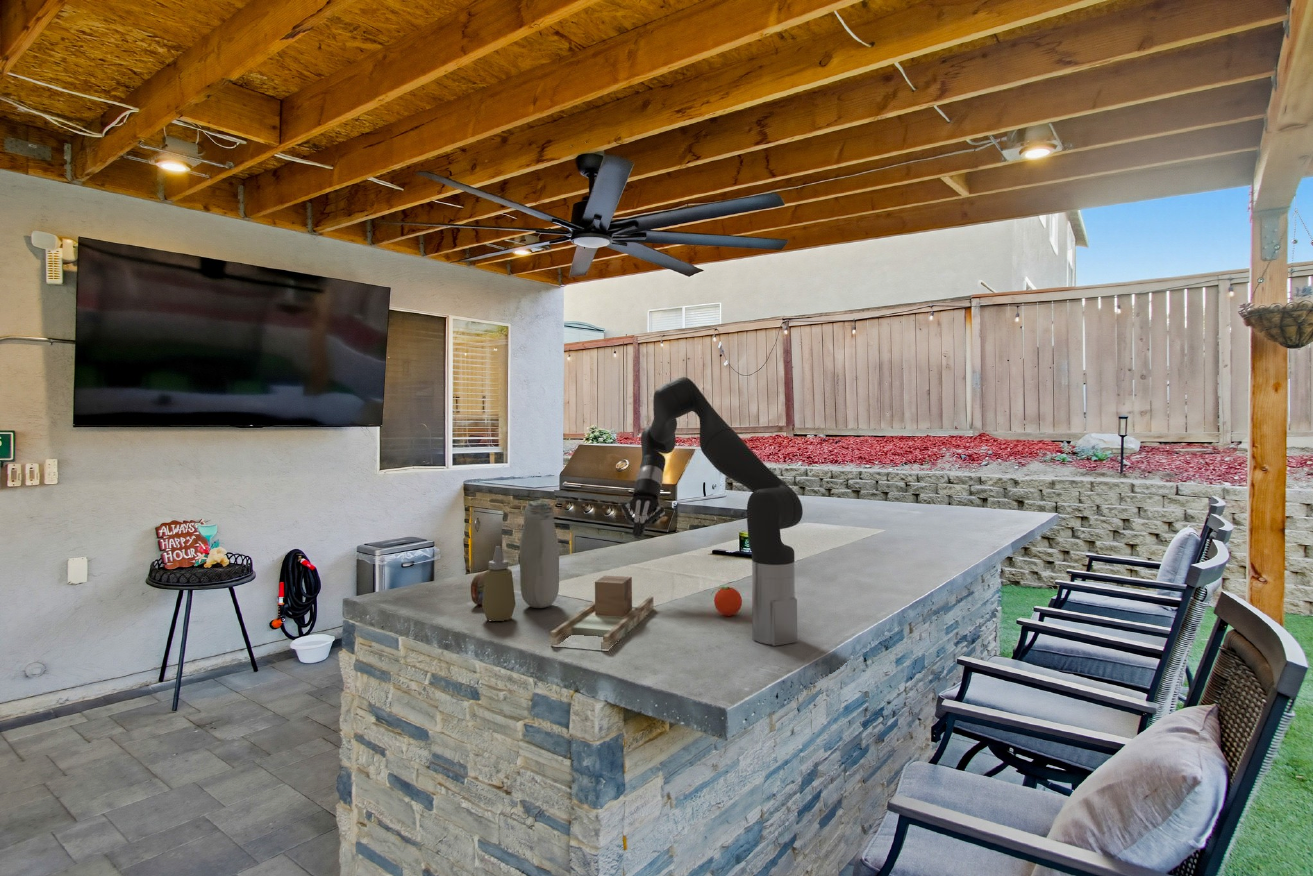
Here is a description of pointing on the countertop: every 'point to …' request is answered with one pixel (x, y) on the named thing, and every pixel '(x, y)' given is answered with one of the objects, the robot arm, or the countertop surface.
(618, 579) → the walnut block
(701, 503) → the countertop surface
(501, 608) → the squeeze bottle
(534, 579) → the grey vase
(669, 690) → the countertop surface
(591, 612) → the track
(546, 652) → the countertop surface
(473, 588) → the tin
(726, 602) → the clementine
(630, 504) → the robot arm
